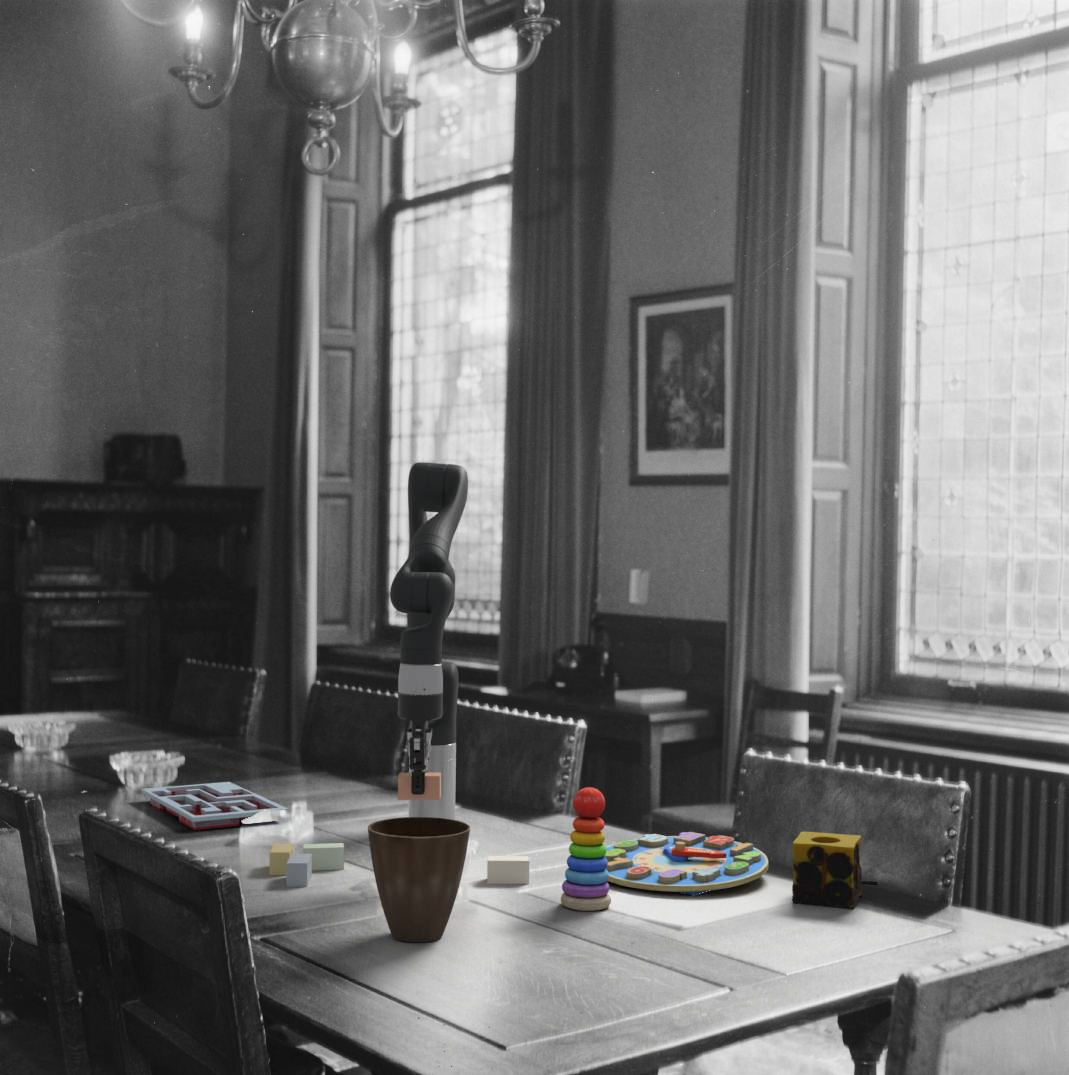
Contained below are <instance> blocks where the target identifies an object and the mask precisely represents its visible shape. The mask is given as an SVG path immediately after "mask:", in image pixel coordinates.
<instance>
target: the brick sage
mask: <svg viewBox="0 0 1069 1075" xmlns="http://www.w3.org/2000/svg"><path fill="white" fill-rule="evenodd" d="M344 844H345V843H344V842H338V843H337V842H332V843H330V842H329V843H303V844H302V854H312V871H333V870H335V871H336V870H345V869H344V868H345V845H344Z"/></svg>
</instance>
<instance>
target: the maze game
mask: <svg viewBox="0 0 1069 1075" xmlns="http://www.w3.org/2000/svg"><path fill="white" fill-rule="evenodd" d="M140 791H141V794H143V795H145V796H146V797H148V798H150V804H151V805H152V807H153V806H154V808H155V807H156V808H155V809H157V810H158V811H164V809H166V810H165V812H168V813H169V814H171V815H173V816H175V817H177V818H178V822H180V823H182V824H183V825H185V826H187V827H189V828H190V829H192V830H194V831H200V830H208V829H209V830H210V829H211V830H212V829H218V828H230V827H238V826H239V827H240V822H241V820H243V819H245V818H248V817H251V816H253V815H255V814H256V813H258V812H260V811H261V810H264V809H268V810H283V809H285V810H289V808H288V807H286V806H283V805H281V804H279V803H277V802H274V801H273V800H271V799H270V800H269V799H268V798H266V797H264V796H262V795H259V794H257V793H255V792H253V791H250V790H249V789H246V788H244V787H241V786H239V785H237V784H236V783H232V782H231V781H222V782H211V783H199V784H197V783H195V784H185V785H174V786H162V787H160V786H159V787H149V788H141V790H140ZM151 805H150V806H151ZM162 809H163V810H162ZM289 811H290V810H289Z"/></svg>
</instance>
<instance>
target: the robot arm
mask: <svg viewBox="0 0 1069 1075" xmlns="http://www.w3.org/2000/svg"><path fill="white" fill-rule="evenodd" d="M468 478H469V477H468V472H467V470H466V469H465V467H464V466H462V465H459V464H453V463H440V462H439V463H437V462H426V461H425V462H415V463H413V464H412V465H411V467H410V470H409V473H408V479H407V480H408V481H407V501H408V502H407V503H408V504H407V508H408V509H407V510H408V530H409V531H408V533H409V537H408V539H409V540H408V541H409V543H408V556H407V558H406V560H405V562H404V563H403V564H402V565H401V567H400V568H399V570H398V571H397V573H396V574H395V575H394V578H393V580H392V582H391V585H390V590H389V598H390V603H391V604H392V607H393V608H394V609H395V610H396V611H398V612H399V613H401V614H406V622H407V623H406V624H407V625H406V626H407V628H406V629H404V630H403V631H402V632H401V634H400V649H399V650H400V652H399V653H400V660H399V661H400V662H399V672H398V677H397V678H398V682H397V683H398V685H397V688H398V689H397V694H398V695H397V717H398V718H399V719H401V720H405V721H411V723H412V724H411V727H408V730H407V733H406V734H407V735H406V736H407V737H406V738H407V741H408V747H407V748H408V750H407V753H408V757H409V764H408V768H409V771H408V773H412V782H411V792H412V794H414V795H422V794H424V792H425V773H441V797H440V800H408V817H435V818H446V819H452V820H456V787H457V786H456V783H457V782H456V781H457V780H456V778H457V777H456V774H457V771H456V770H457V769H456V768H457V766H456V765H457V757H456V756H457V712H458V711H457V708H458V695H459V670H458V666H457V665H456V663H454V662H452V661H443V660H442V658H443V657H442V656H443V655H442V654H443V653H442V652H443V649H442V648H443V638H444V637H443V636H444V630H445V625H446V621H447V619H448V618H449V616H450V615H451V614H452V611H453V609H454V606H455V597H456V596H455V594H456V573H455V570H454V568H453V565H452V563H451V562H450V559H449V558H450V554H451V553H450V552H451V546H452V542H453V540H454V536H455V534H456V531H457V529H458V526H459V524H460V522H461V518H462V515H463V513H464V510H465V508H466V504H467V501H468V500H467V499H468V490H469V479H468ZM428 512H429V513H436V514H435V515H433V516H432V517H431V518H429V519H428V517H427V513H428Z"/></svg>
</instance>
